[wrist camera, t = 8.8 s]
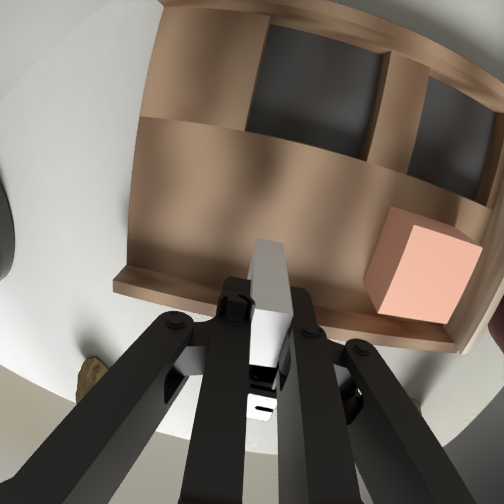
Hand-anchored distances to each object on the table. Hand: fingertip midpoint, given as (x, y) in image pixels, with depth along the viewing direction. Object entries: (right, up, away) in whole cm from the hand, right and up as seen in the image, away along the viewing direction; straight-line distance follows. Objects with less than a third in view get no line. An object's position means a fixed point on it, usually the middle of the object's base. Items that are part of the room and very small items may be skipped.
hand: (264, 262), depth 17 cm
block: (+11, 0, +4) cm, 12 cm away
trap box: (+6, +6, +4) cm, 9 cm away
